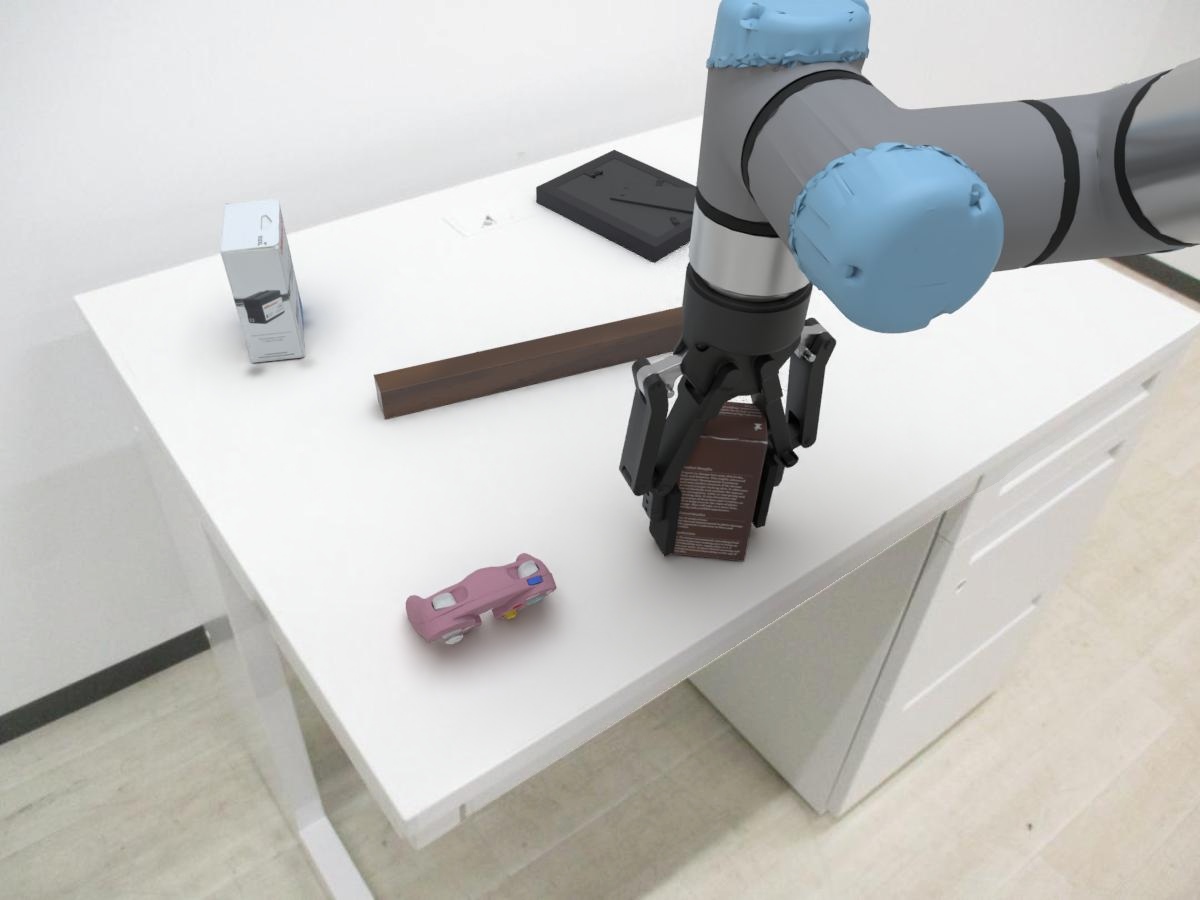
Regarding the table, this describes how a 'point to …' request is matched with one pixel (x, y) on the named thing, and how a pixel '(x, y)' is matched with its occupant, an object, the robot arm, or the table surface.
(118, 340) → the table surface
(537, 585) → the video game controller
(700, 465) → the box
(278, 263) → the ink box
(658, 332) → the straight edge
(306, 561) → the table surface
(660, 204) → the picture frame
